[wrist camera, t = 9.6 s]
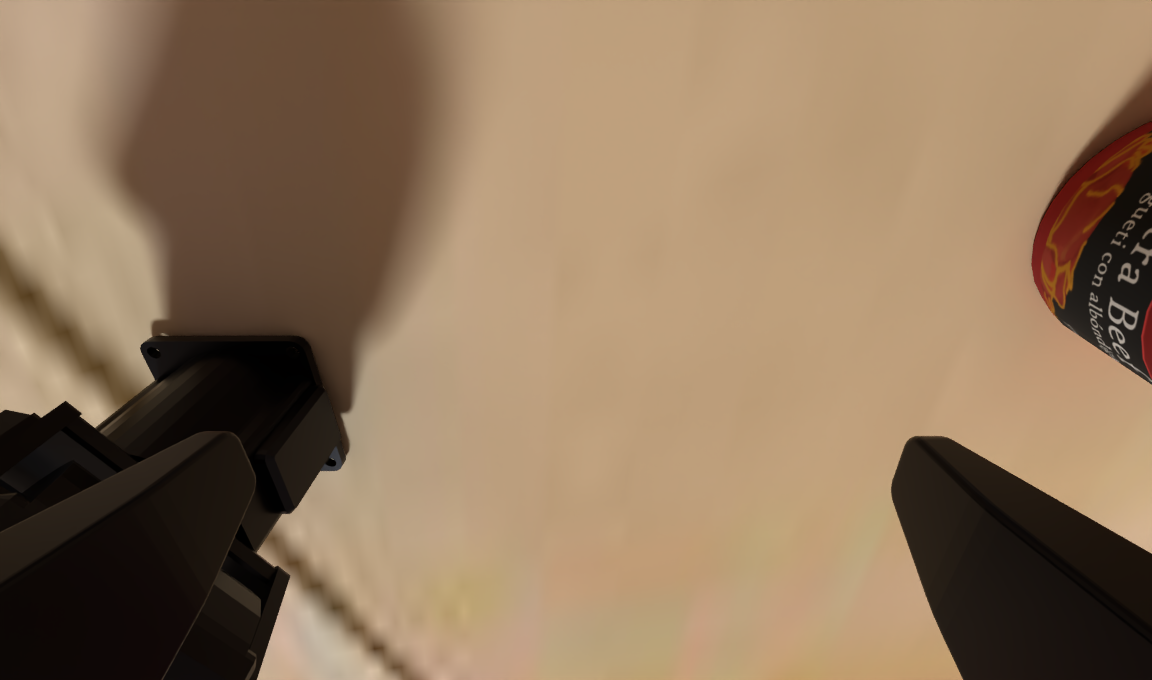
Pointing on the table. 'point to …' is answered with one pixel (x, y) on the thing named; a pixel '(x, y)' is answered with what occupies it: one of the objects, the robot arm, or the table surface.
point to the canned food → (1103, 252)
